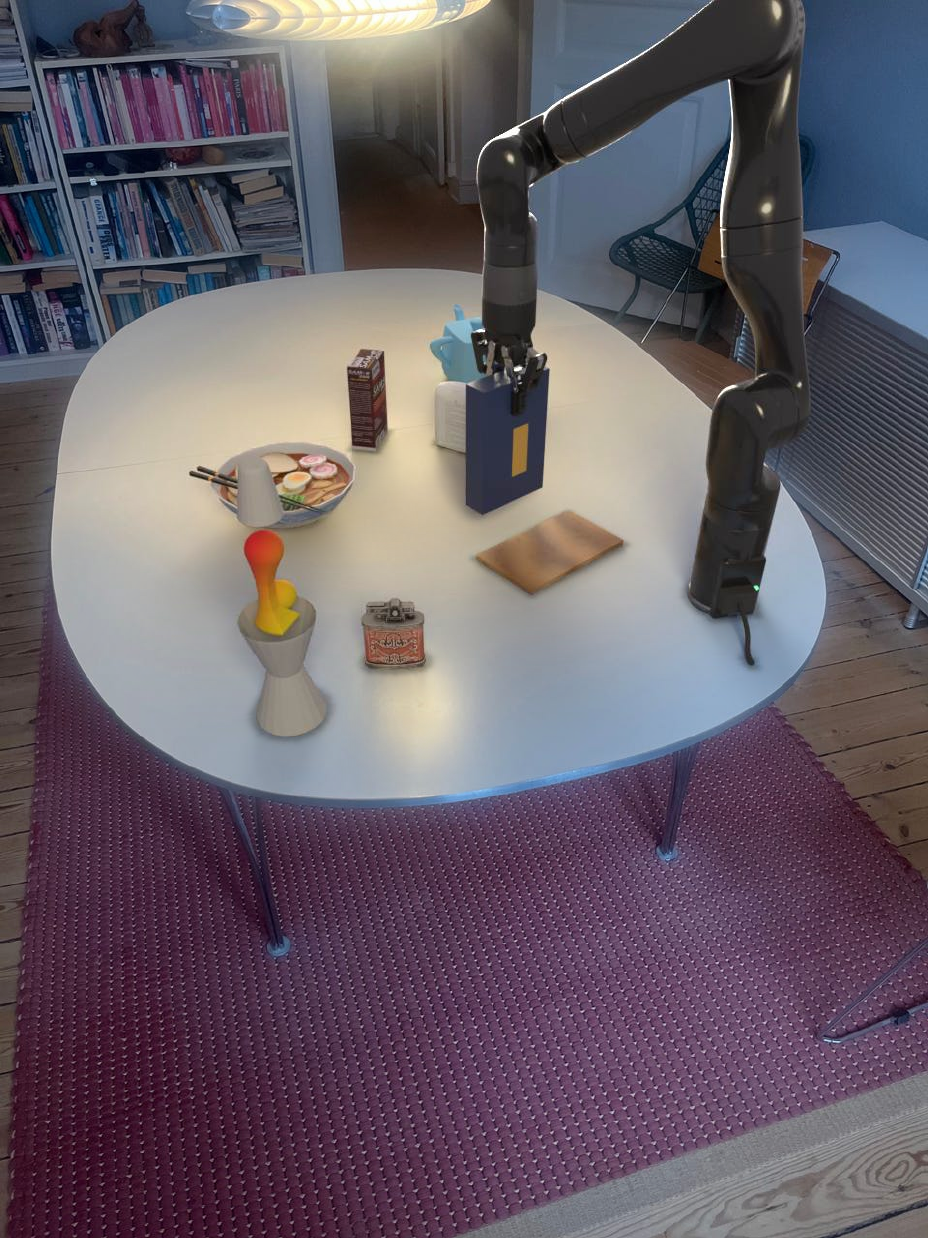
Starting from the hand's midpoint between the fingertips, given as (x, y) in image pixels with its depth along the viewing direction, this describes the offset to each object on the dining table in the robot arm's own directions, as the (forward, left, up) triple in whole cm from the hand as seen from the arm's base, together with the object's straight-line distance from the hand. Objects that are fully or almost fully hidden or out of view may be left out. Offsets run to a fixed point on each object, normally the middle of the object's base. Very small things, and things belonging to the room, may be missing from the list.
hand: (506, 408), depth 141 cm
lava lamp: (-37, +36, -20) cm, 56 cm away
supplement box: (+33, +18, -20) cm, 42 cm away
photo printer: (+27, +2, -20) cm, 33 cm away
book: (-3, +6, -5) cm, 8 cm away
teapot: (+55, -6, -20) cm, 58 cm away
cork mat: (-9, -5, -20) cm, 23 cm away
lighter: (-30, +22, -20) cm, 43 cm away
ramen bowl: (+10, +34, -20) cm, 40 cm away
